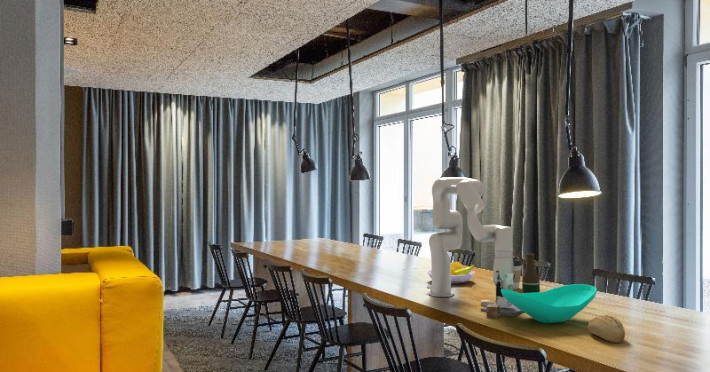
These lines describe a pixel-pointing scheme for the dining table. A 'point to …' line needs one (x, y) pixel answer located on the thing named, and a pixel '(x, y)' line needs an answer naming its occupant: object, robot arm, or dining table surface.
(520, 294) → the table top decor
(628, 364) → the dining table surface
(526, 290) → the beer bottle
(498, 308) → the walnut cube
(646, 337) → the dining table surface
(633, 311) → the dining table surface
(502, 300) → the syrup box
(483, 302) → the cork disc
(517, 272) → the coffee cup
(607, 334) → the bread roll
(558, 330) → the dining table surface
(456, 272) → the fruit bowl
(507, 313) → the felt pad
